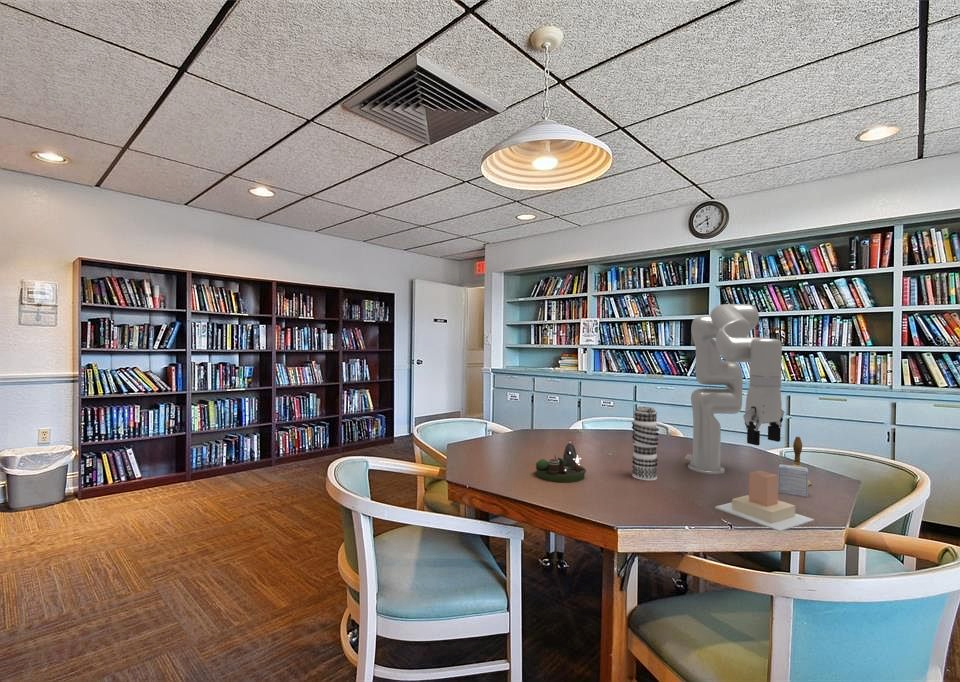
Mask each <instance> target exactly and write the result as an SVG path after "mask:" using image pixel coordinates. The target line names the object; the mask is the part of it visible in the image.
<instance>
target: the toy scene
mask: <svg viewBox="0 0 960 682" xmlns="http://www.w3.org/2000/svg"><path fill="white" fill-rule="evenodd" d="M580 460H582V458H581V457H579V455H578V454H577V452H576V447H575V446H574V444H572V443H568V444H566V446H565V449H564V452H563V456H562V458H561V457H557V459H556V454H554V458H553V459H549V461H548V460H546V459H545V458H541V459H540V460H538V461H537V462H536V464H535V470H536V471H537V475H538V477H540V478H541V479H543V480H546V481H550V482H557V483H575V482H579V481H581V480H583V479H584V478H585V474H586V472H587V469H586V468H585V467H584V466H581V464H580Z"/></svg>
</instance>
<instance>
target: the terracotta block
mask: <svg viewBox="0 0 960 682" xmlns="http://www.w3.org/2000/svg"><path fill="white" fill-rule="evenodd" d="M748 477H749V482H748V485H749V487H748V493H749V494H748V495H749V501H752V502H755V503H758V504H761V505H764V506H767V507H768V506H771V505H775V504H778V500H779V493H778V474H775V473H771V472H767V471H764V470H756V471H752V472H751V471H750V472H749V476H748Z"/></svg>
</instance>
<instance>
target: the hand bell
mask: <svg viewBox="0 0 960 682" xmlns="http://www.w3.org/2000/svg"><path fill="white" fill-rule="evenodd" d="M792 448H793V452H794V461H793V464H791V465H790V466H797V467H803V466H802V465H801V453H802V451H803V442H802V440H801V437H800V436H795V439H794V440H793V445H792ZM811 485H812V482H811V481H810V480H809V479H808V487H809V486H811Z"/></svg>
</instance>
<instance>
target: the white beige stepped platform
mask: <svg viewBox="0 0 960 682" xmlns="http://www.w3.org/2000/svg"><path fill="white" fill-rule="evenodd" d="M714 508H715V509H716V510H720V511H722V512H723V513H724V512H725V513H727V514H731V515H733V516H736V517H738V518H741V519H745V520H747V521H750V522H751V523H755V524H758V525H761V526H764V527H767V528H770V529H772V530H775V531H779V532H782V531H786V530H789V529H791V528H796V527H798V526H803V525H806V524H808V522H809V523H812V522H814V521H815V519H814V518H811V517H808V516H806V515H805V516H804V515H803V514H800V513H799V514H798V513H796V505H794V504H792V503H788V502H785V501H782V500H779V499H778V504H775V505H771V506H768V507H767V506H764V505H761V504H758V503H755V502H752V501H749V494H747V495H743V496H739V497H738V496H737V497H735V498H732V501H731V502H729V503H728V502H727V503H725V504H720V505H716V506H715V507H714Z"/></svg>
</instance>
